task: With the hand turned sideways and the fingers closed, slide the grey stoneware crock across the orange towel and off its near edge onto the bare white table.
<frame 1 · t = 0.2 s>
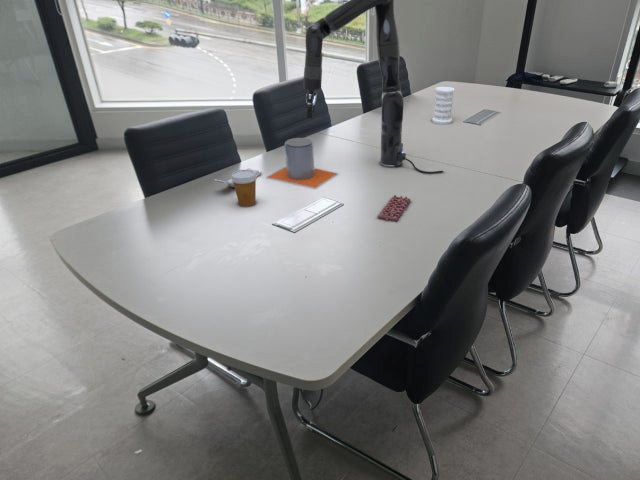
hand: (310, 115, 222), 22 cm above the table, tool pointing down, fingers open, 8 cm apart
crock: (301, 174, 222), resting on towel
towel: (303, 175, 222), on the table
grey white handled utensil: (240, 184, 214), on the table
decorative container: (442, 121, 294), on the table
disposable coffee cup: (247, 203, 198), on the table
red flat knobbed bar: (394, 210, 194), on the table
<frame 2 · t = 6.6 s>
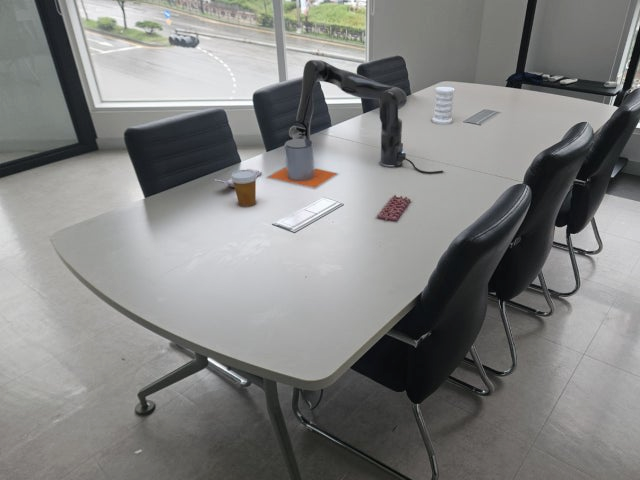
hand: (300, 158, 223), 6 cm above the table, tool horizontal, fingers closed
crock: (301, 175, 221), resting on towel
everything else where it was.
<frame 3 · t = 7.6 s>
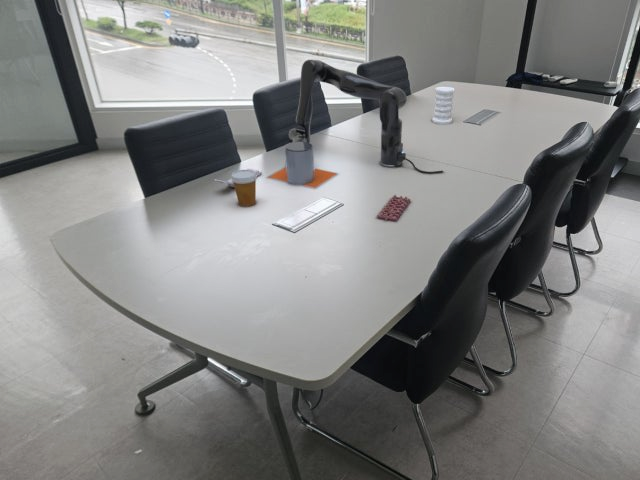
hand: (300, 161, 219), 6 cm above the table, tool horizontal, fingers closed
crock: (301, 179, 217), resting on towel, touching gripper
everything else where it was.
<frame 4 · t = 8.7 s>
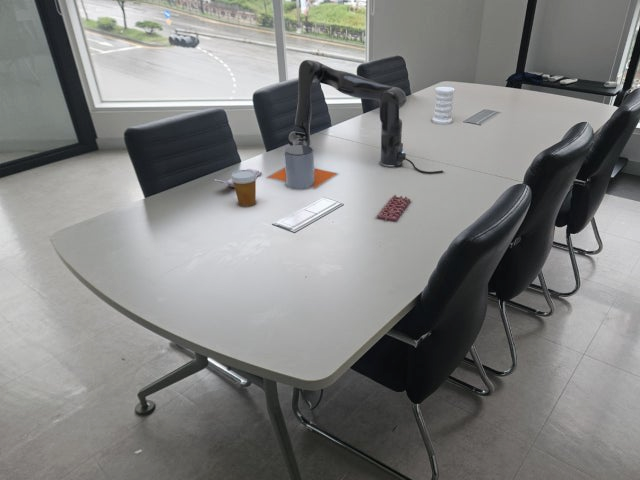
hand: (300, 165, 216), 6 cm above the table, tool horizontal, fingers closed
crock: (301, 183, 214), resting on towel
everything else where it was.
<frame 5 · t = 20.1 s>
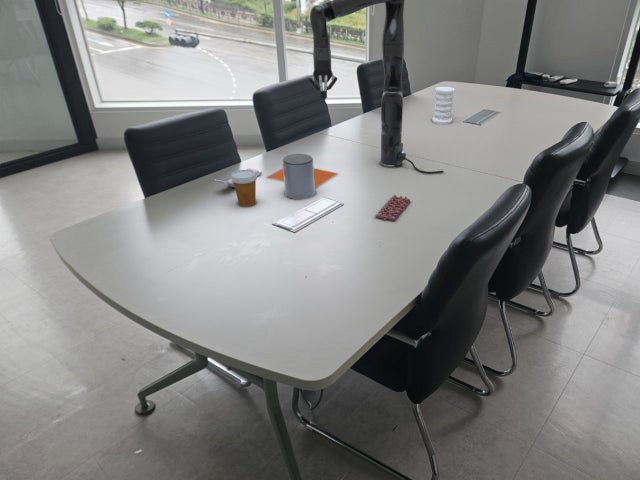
hand: (323, 99, 226), 27 cm above the table, tool pointing down, fingers closed
crock: (300, 193, 206), on the table
everything else where it was.
at the end: crock touching table; crock inside the target area (1.9 cm from its centre), on the table; crock tilted 0° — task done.
